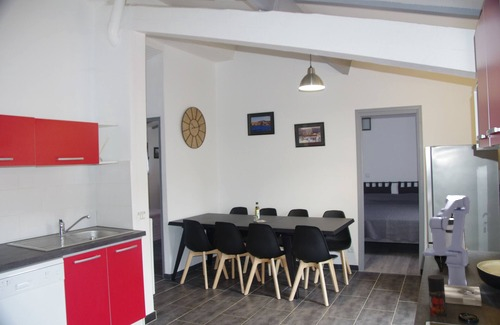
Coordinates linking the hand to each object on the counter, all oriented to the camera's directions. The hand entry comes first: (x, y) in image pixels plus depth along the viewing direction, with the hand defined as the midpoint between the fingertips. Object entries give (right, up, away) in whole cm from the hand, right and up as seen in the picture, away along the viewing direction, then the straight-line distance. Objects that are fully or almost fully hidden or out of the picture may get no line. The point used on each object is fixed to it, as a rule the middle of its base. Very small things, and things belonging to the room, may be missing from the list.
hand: (441, 271), depth 185 cm
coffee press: (+29, -8, +45) cm, 54 cm away
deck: (+4, -10, -7) cm, 13 cm away
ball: (+8, -8, -9) cm, 14 cm away
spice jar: (-13, -11, -23) cm, 29 cm away
